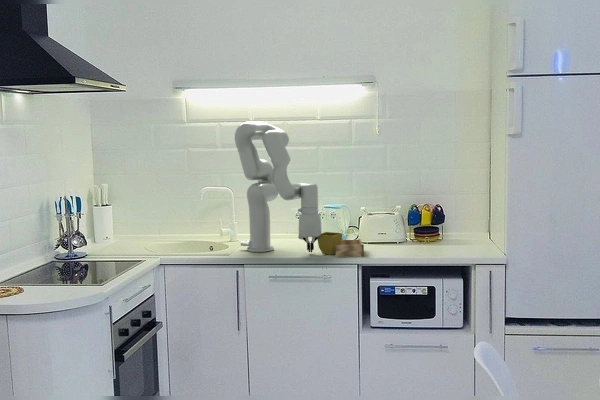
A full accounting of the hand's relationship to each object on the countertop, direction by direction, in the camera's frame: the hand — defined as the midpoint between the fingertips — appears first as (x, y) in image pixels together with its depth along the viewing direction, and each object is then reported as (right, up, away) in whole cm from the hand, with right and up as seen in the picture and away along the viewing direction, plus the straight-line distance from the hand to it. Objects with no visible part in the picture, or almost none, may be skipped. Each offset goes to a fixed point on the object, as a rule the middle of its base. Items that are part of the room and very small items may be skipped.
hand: (310, 251), depth 292 cm
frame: (+17, -1, 0) cm, 17 cm away
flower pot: (+9, -1, +1) cm, 9 cm away
